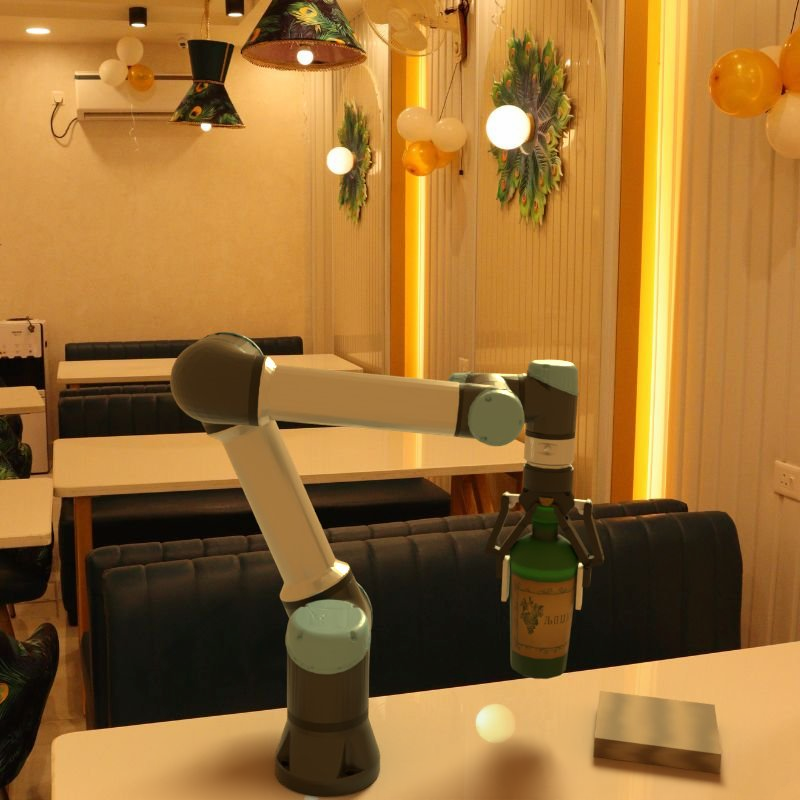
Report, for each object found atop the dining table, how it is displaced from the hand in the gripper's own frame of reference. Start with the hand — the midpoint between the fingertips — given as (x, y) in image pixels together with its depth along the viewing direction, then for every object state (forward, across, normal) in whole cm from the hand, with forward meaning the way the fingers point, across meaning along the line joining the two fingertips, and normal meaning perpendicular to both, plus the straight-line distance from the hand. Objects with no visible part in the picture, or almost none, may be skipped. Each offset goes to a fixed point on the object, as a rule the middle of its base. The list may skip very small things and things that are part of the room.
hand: (541, 602), depth 155 cm
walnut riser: (+20, +18, +1) cm, 27 cm away
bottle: (+11, 0, 0) cm, 11 cm away
